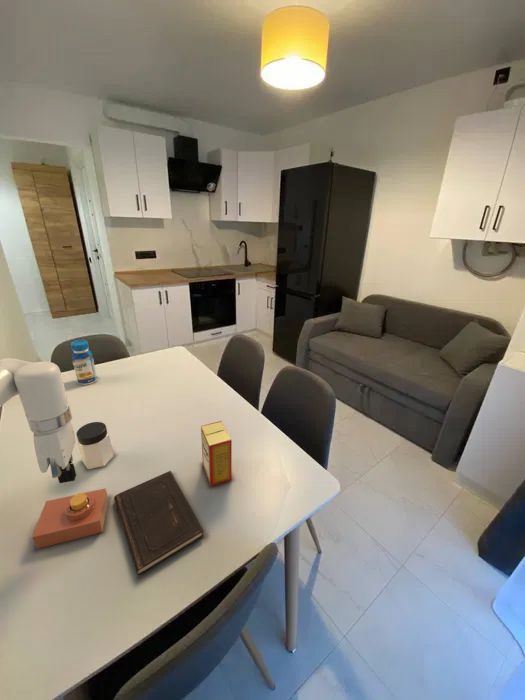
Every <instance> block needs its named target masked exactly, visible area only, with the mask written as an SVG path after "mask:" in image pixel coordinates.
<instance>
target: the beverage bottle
mask: <svg viewBox="0 0 525 700" xmlns="http://www.w3.org/2000/svg"><path fill="white" fill-rule="evenodd" d="M70 348H71V351H72V354H71V359H72V365H73V368H74V372H75V375H76V376H75V377H76V381H77V384H79V385H82V386H83V385H85V386H87V385H91V384H93V383H95V382H96V381H97V380H98V376H97V371H96V365H95V360H94V357H93V353H92V351H91V350H90V349H89V348H90V346H89V342H88V340H86V339H77V340H74V341H72V342H71V343H70Z"/></svg>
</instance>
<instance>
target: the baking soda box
mask: <svg viewBox="0 0 525 700" xmlns="http://www.w3.org/2000/svg"><path fill="white" fill-rule="evenodd" d="M200 430H201V431H200V434H201V437H200V438H201V452H202V453H201V455H202V466H203V469H204V472H205V475H206V477H207V480H208V483H209V485H210V487H214V486H217V485H220V484H224V483H226V482H229V481H232V454H233V453H232V452H233V451H232V444H233V443H232V441H233V440H232V438H231V437H230V434H229V433H228V431H227V428H226V426H225V425H224V423H223V421H222V420H219V421H216V422H211V423H207V424H203V425H200Z"/></svg>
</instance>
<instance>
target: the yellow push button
mask: <svg viewBox="0 0 525 700" xmlns="http://www.w3.org/2000/svg"><path fill="white" fill-rule="evenodd" d="M84 493H85V492H80V493H76V494H74V495H75V496H74V497H72V498H71V500H70V505H71V508H72V510H73V511H79V510H81V509H83V508H85V507H86V506H87V504H88V500H87V496H86V494H84Z"/></svg>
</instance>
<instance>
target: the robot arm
mask: <svg viewBox="0 0 525 700" xmlns="http://www.w3.org/2000/svg"><path fill="white" fill-rule="evenodd" d="M18 395H19V399H20V402H21V405H22V408H23V411H24V414H25V417H26V420H27V424H28V426H29V429H30V432H31V433H32V434H33V446H34V452H35V457H36V460H37V464H38V468H39V471H40V472H41V473H42V474H44V473H47V471H48V469H49V467H50V472H51V477H52V479H56V478H57V480H58V483H59V484H65V483H70V482H74V481H75V480H76V477H77V471H76V469H75V468H76V467H75V464H74V463H73V462H74V458H73V452H74V448H75V445H76V435H75V431H74V427H73V424H72V421H73V415H72V412H71V408H70V404H69V400H68V396H67V391H66V387H65V384H64V380H63V376H62V372H61V370H60V367H59V366H58V365H57V364H56V363H54V362H52V361H37V362H32V361H27V360H23V359H18V358H12V357H6V358H1V359H0V408H1V407H2V406H4V405H5V404H6V403H7V402H9V401H10V400H11V399H12V398H15V397H16V396H18Z"/></svg>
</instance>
